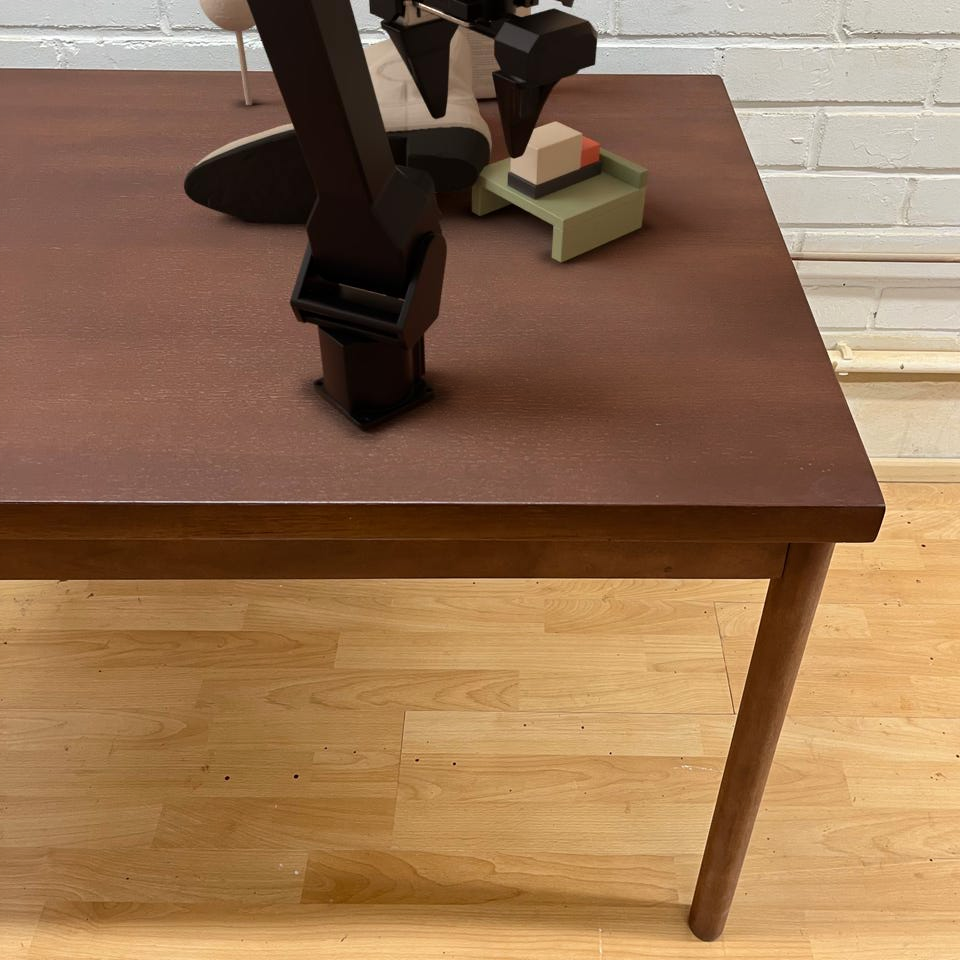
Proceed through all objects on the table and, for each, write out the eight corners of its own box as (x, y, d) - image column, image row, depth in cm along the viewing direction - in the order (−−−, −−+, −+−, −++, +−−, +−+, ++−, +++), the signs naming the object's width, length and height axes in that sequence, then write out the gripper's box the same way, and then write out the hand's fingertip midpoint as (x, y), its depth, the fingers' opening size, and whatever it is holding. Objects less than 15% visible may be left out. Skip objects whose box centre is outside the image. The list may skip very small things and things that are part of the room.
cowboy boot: (497, 133, 85) (484, 9, 102) (167, 132, 84) (209, 7, 100) (493, 229, 92) (481, 98, 109) (189, 230, 90) (225, 97, 107)
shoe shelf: (560, 263, 86) (564, 203, 82) (471, 211, 93) (471, 154, 89) (641, 227, 91) (649, 169, 87) (551, 181, 97) (554, 125, 94)
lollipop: (258, 86, 115) (238, -58, 105) (294, 105, 111) (277, -44, 101) (204, 103, 111) (177, -46, 101) (239, 122, 107) (215, -30, 97)
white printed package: (522, 84, 116) (527, -32, 108) (531, 98, 113) (536, -21, 105) (434, 90, 114) (432, -28, 106) (441, 104, 111) (439, -15, 103)
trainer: (534, 200, 86) (537, 150, 83) (507, 185, 88) (508, 136, 85) (601, 174, 90) (605, 125, 87) (573, 160, 92) (576, 112, 89)
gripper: (667, -87, 64) (639, 148, 75) (480, -136, 75) (479, 76, 85) (538, -57, 59) (528, 191, 69) (357, -115, 70) (371, 108, 80)
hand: (476, 136), depth 76 cm, fingers open, 9 cm apart
